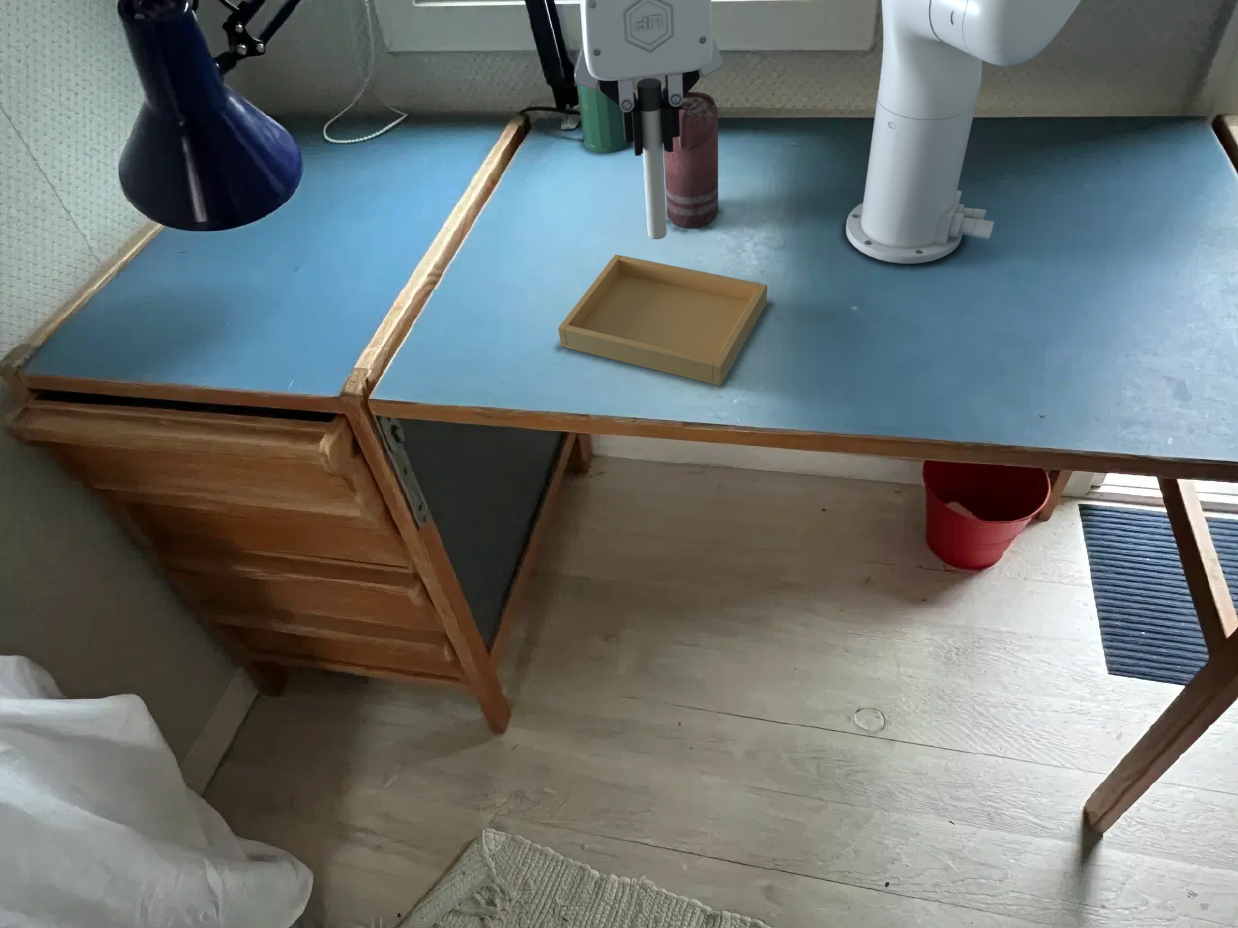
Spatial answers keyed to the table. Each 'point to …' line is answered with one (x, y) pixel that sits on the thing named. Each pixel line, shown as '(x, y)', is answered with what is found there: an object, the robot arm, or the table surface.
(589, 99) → the tumbler
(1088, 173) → the table surface
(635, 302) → the tray
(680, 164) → the can
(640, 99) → the marker
